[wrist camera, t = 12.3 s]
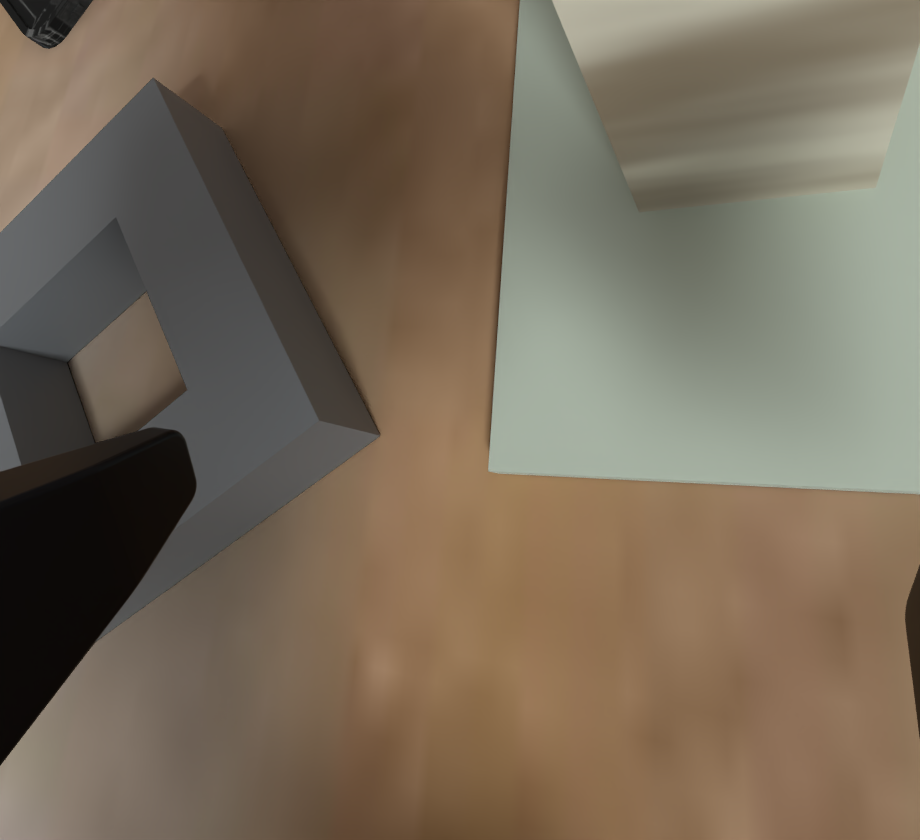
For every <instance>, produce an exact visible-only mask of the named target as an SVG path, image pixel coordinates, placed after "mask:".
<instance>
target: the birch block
mask: <svg viewBox="0 0 920 840" xmlns="http://www.w3.org/2000/svg"><path fill="white" fill-rule="evenodd" d="M552 2H553V4H554V7H555V9H556V12H557V14H558V16H559V19H560V21H561V24H562V26H563V29H564V31H565V33H566V36H567V38H568V41H569V43H570V46H571V48H572V50H573V53H574V55H575V58H576V60H577V63H578V65H579V67H580V70H581V72H582V75H583V77H584V80H585V82H586V84H587V87H588V89H589V92H590V94H591V97H592V99H593V101H594V104H595V106H596V109H597V111H598V114H599V116H600V118H601V121H602V123H603V126H604V128H605V131H606V133H607V135H608V138H609V140H610V143H611V145H612V148H613V150H614V152H615V155H616V157H617V160H618V162H619V165H620V167H621V169H622V172H623V174H624V177H625V179H626V182H627V184H628V187H629V189H630V191H631V194H632V196H633V199H634V201H635V204H636V206H637V208H638V211H639V212H646V211H656V210H665V209H675V208H685V207H694V206H704V205H713V204H723V203H733V202H742V201H752V200H762V199H771V198H781V197H791V196H800V195H810V194H820V193H829V192H839V191H848V190H858V189H868V188H876V185H877V182H878V179H879V175H880V172H881V169H882V165H883V162H884V159H885V156H886V152H887V149H888V146H889V143H890V139H891V136H892V133H893V129H894V126H895V123H896V120H897V116H898V113H899V110H900V107H901V103H902V100H903V97H904V93H905V90H906V87H907V84H908V80H909V77H910V74H911V71H912V67H913V64H914V61H915V58H916V54H917V51H918V48H919V44H920V0H552Z"/></svg>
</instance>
